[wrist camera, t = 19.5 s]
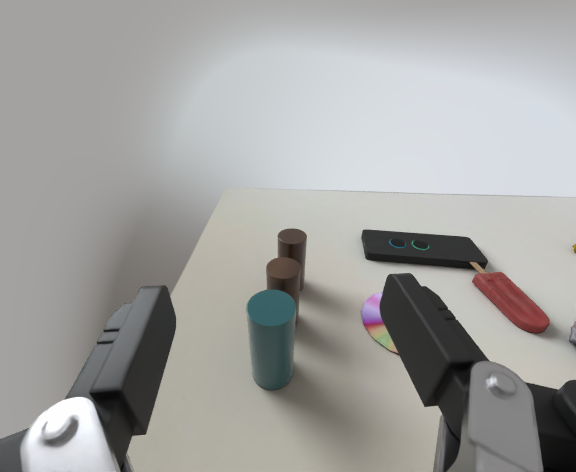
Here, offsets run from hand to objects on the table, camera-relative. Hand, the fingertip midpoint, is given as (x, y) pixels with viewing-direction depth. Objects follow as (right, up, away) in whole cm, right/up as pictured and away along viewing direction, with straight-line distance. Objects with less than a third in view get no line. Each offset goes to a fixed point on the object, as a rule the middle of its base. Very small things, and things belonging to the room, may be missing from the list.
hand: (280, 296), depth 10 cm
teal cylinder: (-1, -13, +21) cm, 24 cm away
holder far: (+1, -5, +33) cm, 33 cm away
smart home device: (+24, -1, +41) cm, 48 cm away
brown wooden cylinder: (0, -9, +27) cm, 28 cm away
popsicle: (+32, -6, +32) cm, 45 cm away
